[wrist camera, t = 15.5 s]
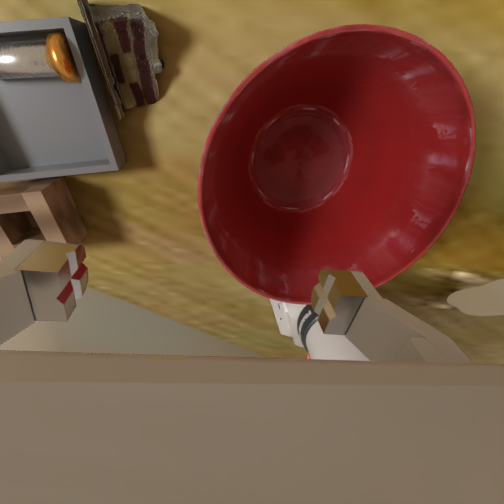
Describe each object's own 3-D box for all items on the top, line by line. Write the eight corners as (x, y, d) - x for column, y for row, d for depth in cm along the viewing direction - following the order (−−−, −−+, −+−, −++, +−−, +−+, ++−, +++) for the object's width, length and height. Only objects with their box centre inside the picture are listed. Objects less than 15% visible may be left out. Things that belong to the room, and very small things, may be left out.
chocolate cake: (176, 118, 37) (169, 27, 26) (120, 128, 35) (87, 35, 24) (154, 60, 39) (139, -50, 28) (100, 66, 37) (59, -49, 26)
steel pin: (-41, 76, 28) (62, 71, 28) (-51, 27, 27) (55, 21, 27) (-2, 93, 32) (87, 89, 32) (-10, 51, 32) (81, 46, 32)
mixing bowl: (391, 3, 33) (505, -41, 20) (397, 213, 48) (464, 265, 35) (167, 90, 35) (140, 100, 22) (241, 264, 50) (250, 331, 37)
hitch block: (88, 232, 44) (71, 253, 39) (28, 239, 43) (3, 261, 38) (62, 175, 39) (40, 191, 34) (-5, 182, 39) (-38, 199, 34)
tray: (126, 161, 39) (118, 170, 36) (14, 173, 38) (-6, 182, 35) (84, 22, 31) (68, 16, 28) (-61, 33, 30) (-95, 28, 27)
